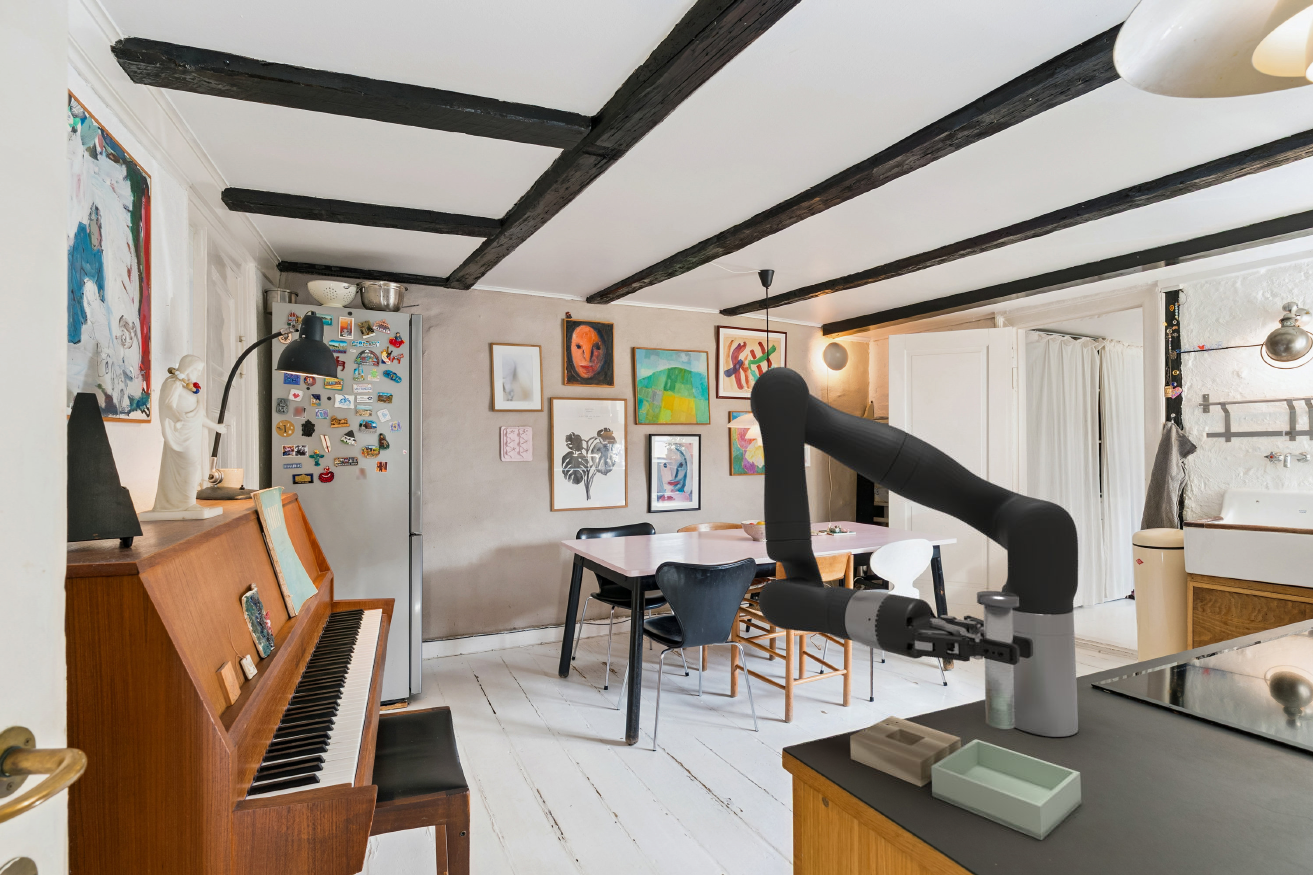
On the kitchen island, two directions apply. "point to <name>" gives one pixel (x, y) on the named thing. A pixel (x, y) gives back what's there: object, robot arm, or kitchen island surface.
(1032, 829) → the green tray
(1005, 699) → the steel pin
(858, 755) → the socket block
